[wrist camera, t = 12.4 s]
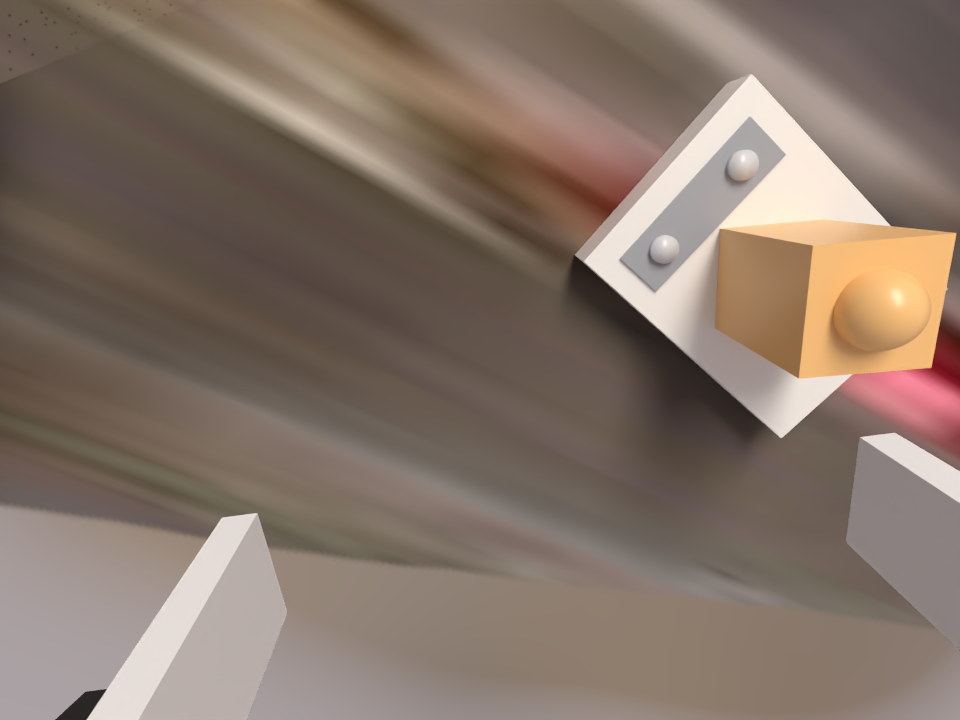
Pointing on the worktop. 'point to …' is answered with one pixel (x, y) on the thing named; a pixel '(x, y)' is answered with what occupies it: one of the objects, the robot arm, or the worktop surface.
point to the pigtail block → (696, 231)
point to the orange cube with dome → (833, 294)
